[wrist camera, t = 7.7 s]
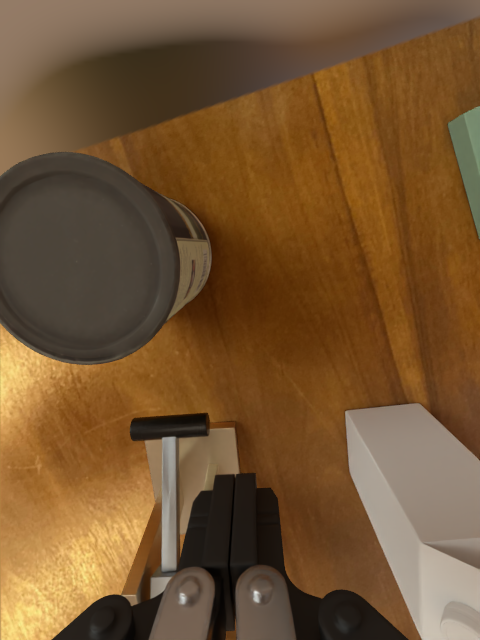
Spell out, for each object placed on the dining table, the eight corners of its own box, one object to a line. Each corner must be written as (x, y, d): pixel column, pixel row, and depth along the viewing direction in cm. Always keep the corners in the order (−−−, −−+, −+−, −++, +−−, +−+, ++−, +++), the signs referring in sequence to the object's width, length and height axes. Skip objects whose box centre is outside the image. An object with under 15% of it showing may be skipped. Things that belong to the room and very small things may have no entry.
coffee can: (83, 210, 29) (-65, 178, 16) (197, 184, 28) (146, 127, 15) (116, 322, 31) (11, 381, 18) (223, 300, 31) (199, 346, 17)
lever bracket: (146, 427, 34) (77, 547, 20) (235, 420, 33) (224, 540, 20) (163, 526, 36) (112, 691, 23) (245, 521, 36) (242, 688, 22)
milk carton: (418, 401, 32) (645, 613, 14) (419, 465, 34) (625, 735, 15) (344, 409, 33) (465, 625, 14) (348, 472, 34) (464, 742, 16)
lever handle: (139, 418, 28) (128, 417, 26) (210, 413, 28) (205, 412, 25) (134, 610, 24) (120, 629, 22) (217, 606, 24) (211, 626, 21)
